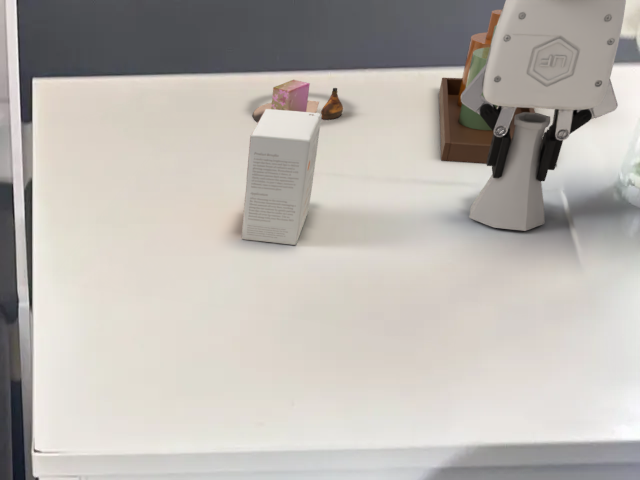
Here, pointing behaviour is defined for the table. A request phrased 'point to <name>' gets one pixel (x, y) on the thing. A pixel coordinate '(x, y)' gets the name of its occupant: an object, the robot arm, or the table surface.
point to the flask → (516, 181)
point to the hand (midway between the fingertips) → (518, 172)
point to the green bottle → (468, 115)
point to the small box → (280, 175)
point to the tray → (463, 128)
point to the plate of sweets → (299, 101)
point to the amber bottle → (476, 43)
